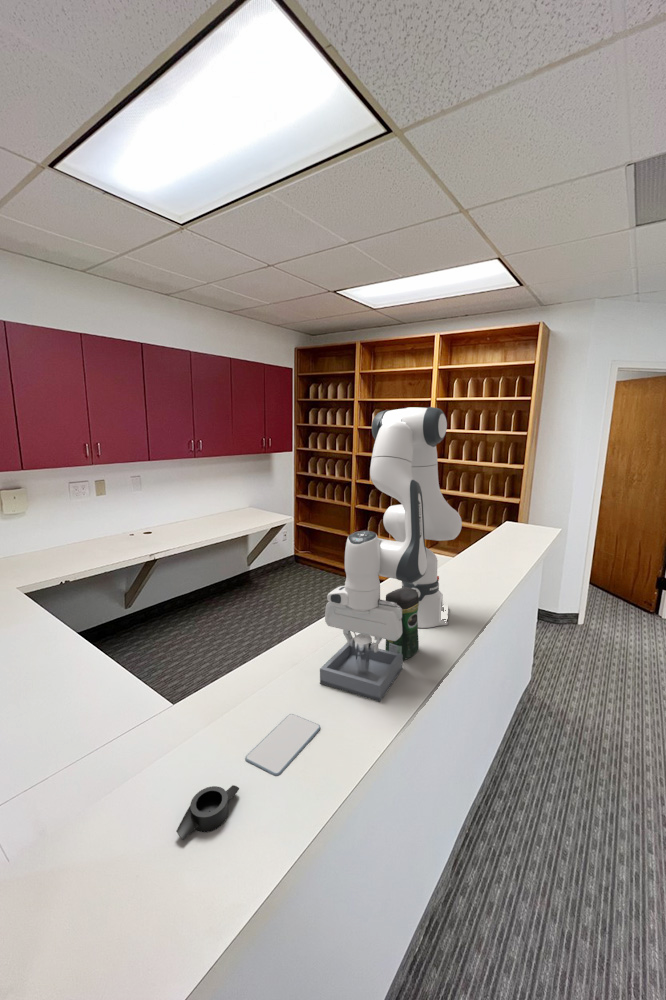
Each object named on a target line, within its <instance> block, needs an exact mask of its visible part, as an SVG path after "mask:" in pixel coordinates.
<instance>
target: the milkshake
mask: <svg viewBox="0 0 666 1000" xmlns="http://www.w3.org/2000/svg"><path fill="white" fill-rule="evenodd" d="M353 634H354V637H353V638H354V643H355V653H356V666H357V669H358V671H361V672H366V671H368V670H369V669H370V656H371V651H370V649H371V648H370V645H371V644H372V643H373V641H372V640H373V638H372V637H373V636H369V635H365V634H361V633H356V632H353Z"/></svg>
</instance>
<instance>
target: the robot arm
mask: <svg viewBox="0 0 666 1000" xmlns="http://www.w3.org/2000/svg"><path fill="white" fill-rule="evenodd" d="M371 422H372V423H371V434H372V438H373V439H374V444H373V448H372V453H371V460H370V467H369V476H370V480H371V482H372V484H373V485H374V486H375V488H376V489H377V490H379V491H380V492H382V493H384V494H386V495H387V496H390V497H391V498H394V499H395V500H397V501H398V502H399V503H400V504H393V505H390V506H389V507H388V508H386V510H385V512H384V514H383V517H382V518H383V519H382V521H383V522H382V523H383V527H384V529H385V531H386V532H387V533H388V534H389V535H391V536H392V537H393V540H390V539H386V538H379V537H378V535H377V533H376V532H375V531H371V530H360V531H359V530H358V531H354V532H352V533H350V534H349V535H348V536H347V539H346V542H345V550H344V572H345V575H346V578H345V582H344V585H340V586H337V587H336V588H334V589H333V590H331V591H330V592H328V594H327V595H326V599H327V601H328V602H327V603H326V604H325V608H324V609H325V611H324V622H325V624H326V625H327V626H328V627H331V628H335V629H339V630H342V632H343V633H342V634H343V636H344V637H345V639H346V641H347V642H346V643H347V645H348V646H351V647H353V646H354V645H355V643H354V637H353V634H352V633H351V632H353V633H354V632H355V634H365V635H369V636H371V637H373V638H374V641H375V642H373V641H372V644H371V645H370V648H371V649H370V651H371V652H375V653H376V652H377V651H378V649H379V644H380V643H381V642H382V640H386V639H387V640H391V641H397V640H398V639H399V638H400V637H401V635H402V621H401V619H402V608H401V607H400V606H399V605H397V603H395V602H389V601H386V599H381V582H380V578H379V576H380V577H384V578H390V579H395V580H397V581H401V588H403V587H408V588H411V589H415V590H416V591H417V593H418V597H419V606H418V614H417V619H418V629H419V628H423V629H426V628H427V629H428V628H433V627H438V626H448V624H449V621H448V622H447V621H444V620H446V619H442V620H441V611H443V612H444V607H442V606H443V605H444V604H445V603H444V602H443V601H444V600H443V599H444V597H443V592H441V591H440V583H439V581H440V576H439V575H438V564H439V563H438V557H437V555H436V554H435V552H433V551H432V550H431V549H429V548H427V547H426V542H425V541H426V540H431V541H438V542H440V541H441V542H442V541H451V540H453V541H454V540H455V539H456V538H457V537H458V536H459V535H460V533H461V530H462V527H463V522H462V521H463V520H462V517H461V516H460V513H459V512H458V511H457V510H456V509H455V508H453V507H452V506H451V505H450V504H449V503H448V502H447V500H446V499H445V498H444V495H443V494H442V492H441V488H440V484H439V483H440V482H439V481H440V480H439V470H438V469H439V468H438V466H439V465H438V464H439V463H438V451H437V445H438V444H440V443H442V441H443V440H444V438H445V436H446V434H447V429H448V422H447V417H446V414H445V412H444V411H443V410H442V409H441V408H438V407H433V406H428V407H421V406H420V407H414V406H413V407H404V408H398V409H397V408H396V409H391V410H390V409H385V410H382V411H379V412H377V414H376V415H375V416H374V418H373V419H372V421H371ZM396 606H397V607H396ZM445 611H446V610H445ZM449 611H450V609H449V610H448V616H449V613H450V612H449ZM445 622H446V623H445Z"/></svg>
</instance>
